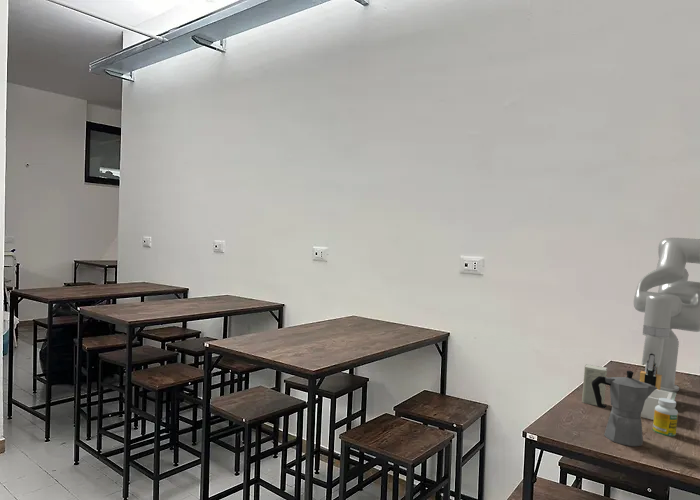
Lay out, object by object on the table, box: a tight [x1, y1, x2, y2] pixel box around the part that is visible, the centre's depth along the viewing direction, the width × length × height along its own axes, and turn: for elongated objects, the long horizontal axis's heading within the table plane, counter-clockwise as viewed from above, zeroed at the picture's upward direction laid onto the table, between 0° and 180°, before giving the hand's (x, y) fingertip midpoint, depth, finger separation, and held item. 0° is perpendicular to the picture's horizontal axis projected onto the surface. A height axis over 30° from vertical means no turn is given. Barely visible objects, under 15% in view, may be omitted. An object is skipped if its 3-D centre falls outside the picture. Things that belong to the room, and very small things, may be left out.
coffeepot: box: [592, 370, 657, 447], centre depth 130 cm, size 15×9×18 cm, turn 78°
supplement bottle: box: [652, 398, 679, 437], centre depth 135 cm, size 5×5×10 cm
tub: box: [641, 389, 672, 421], centre depth 151 cm, size 12×14×7 cm
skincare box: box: [581, 364, 608, 407], centre depth 156 cm, size 6×4×12 cm
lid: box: [638, 370, 677, 401], centre depth 164 cm, size 13×15×7 cm
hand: (650, 385), depth 167 cm, fingers closed on lid, 3 cm apart
